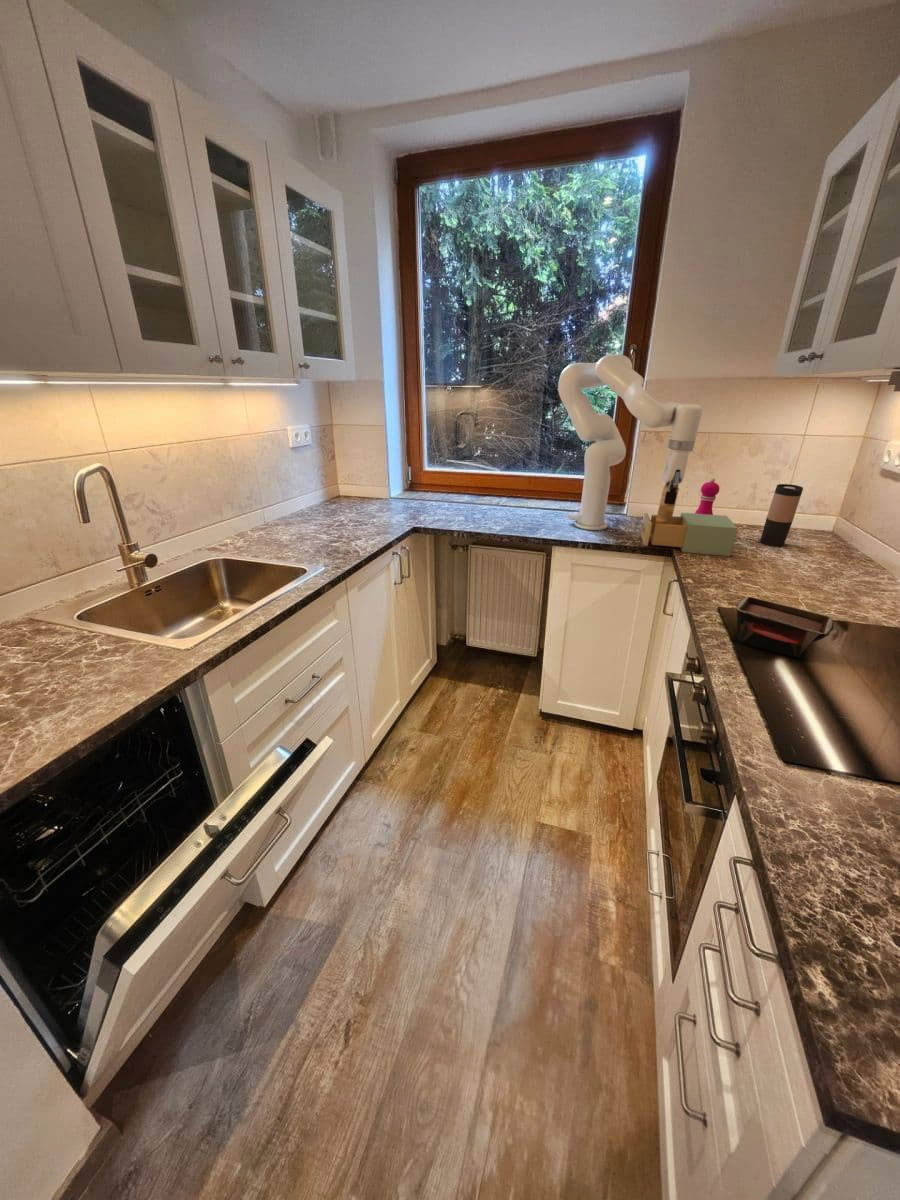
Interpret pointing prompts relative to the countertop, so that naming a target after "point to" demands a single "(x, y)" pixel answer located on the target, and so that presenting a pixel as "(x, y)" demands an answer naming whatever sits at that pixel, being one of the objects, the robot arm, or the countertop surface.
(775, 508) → the travel mug
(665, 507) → the cork textured cylinder
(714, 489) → the pepper mill
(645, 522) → the drawer
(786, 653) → the baking dish
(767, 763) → the countertop surface
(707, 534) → the cabinet
